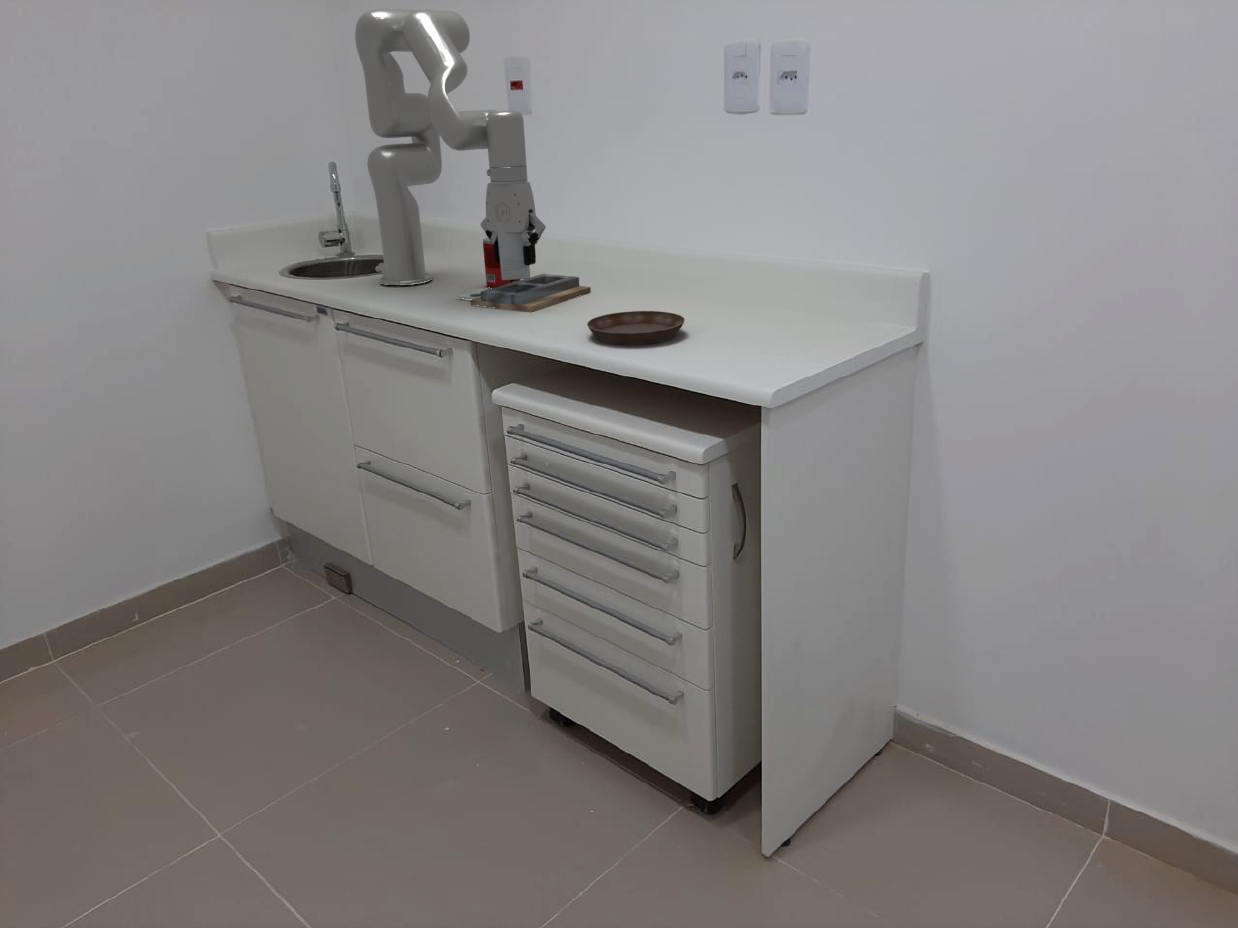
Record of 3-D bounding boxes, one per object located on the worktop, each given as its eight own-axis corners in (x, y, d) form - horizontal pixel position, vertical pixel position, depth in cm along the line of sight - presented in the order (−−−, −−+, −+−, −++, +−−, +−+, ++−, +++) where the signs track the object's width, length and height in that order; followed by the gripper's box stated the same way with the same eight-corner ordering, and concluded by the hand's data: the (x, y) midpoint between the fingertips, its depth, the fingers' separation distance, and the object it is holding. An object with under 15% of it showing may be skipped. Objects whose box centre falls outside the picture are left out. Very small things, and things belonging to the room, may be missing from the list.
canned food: (519, 289, 221) (515, 240, 217) (484, 290, 221) (480, 241, 217) (522, 282, 228) (519, 235, 224) (489, 283, 228) (485, 236, 224)
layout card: (456, 299, 212) (456, 295, 212) (485, 290, 220) (485, 287, 220) (481, 301, 209) (480, 298, 208) (509, 293, 216) (509, 289, 216)
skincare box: (530, 276, 206) (526, 217, 202) (530, 279, 202) (526, 220, 198) (501, 277, 206) (496, 219, 201) (500, 281, 201) (496, 221, 197)
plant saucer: (567, 340, 175) (566, 323, 174) (630, 321, 187) (629, 305, 186) (642, 354, 164) (642, 337, 163) (704, 333, 176) (704, 317, 175)
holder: (470, 305, 205) (469, 290, 204) (533, 287, 222) (532, 273, 221) (530, 312, 197) (529, 296, 196) (590, 292, 214) (590, 278, 213)
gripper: (463, 176, 198) (471, 264, 204) (531, 177, 189) (537, 269, 195) (487, 173, 204) (494, 258, 210) (554, 174, 195) (559, 263, 201)
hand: (515, 262), depth 203 cm, fingers closed on skincare box, 7 cm apart
